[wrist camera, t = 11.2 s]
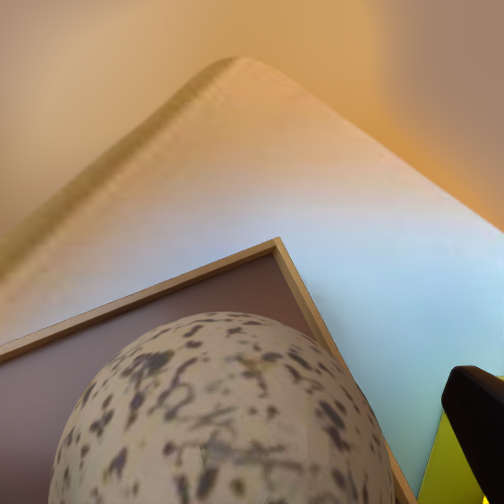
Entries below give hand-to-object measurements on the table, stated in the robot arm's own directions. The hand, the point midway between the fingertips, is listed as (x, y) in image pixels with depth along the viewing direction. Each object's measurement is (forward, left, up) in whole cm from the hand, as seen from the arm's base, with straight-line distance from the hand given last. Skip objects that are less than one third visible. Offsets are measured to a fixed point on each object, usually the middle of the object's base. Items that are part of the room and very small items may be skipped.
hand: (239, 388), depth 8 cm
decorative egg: (-1, +1, -7) cm, 7 cm away
